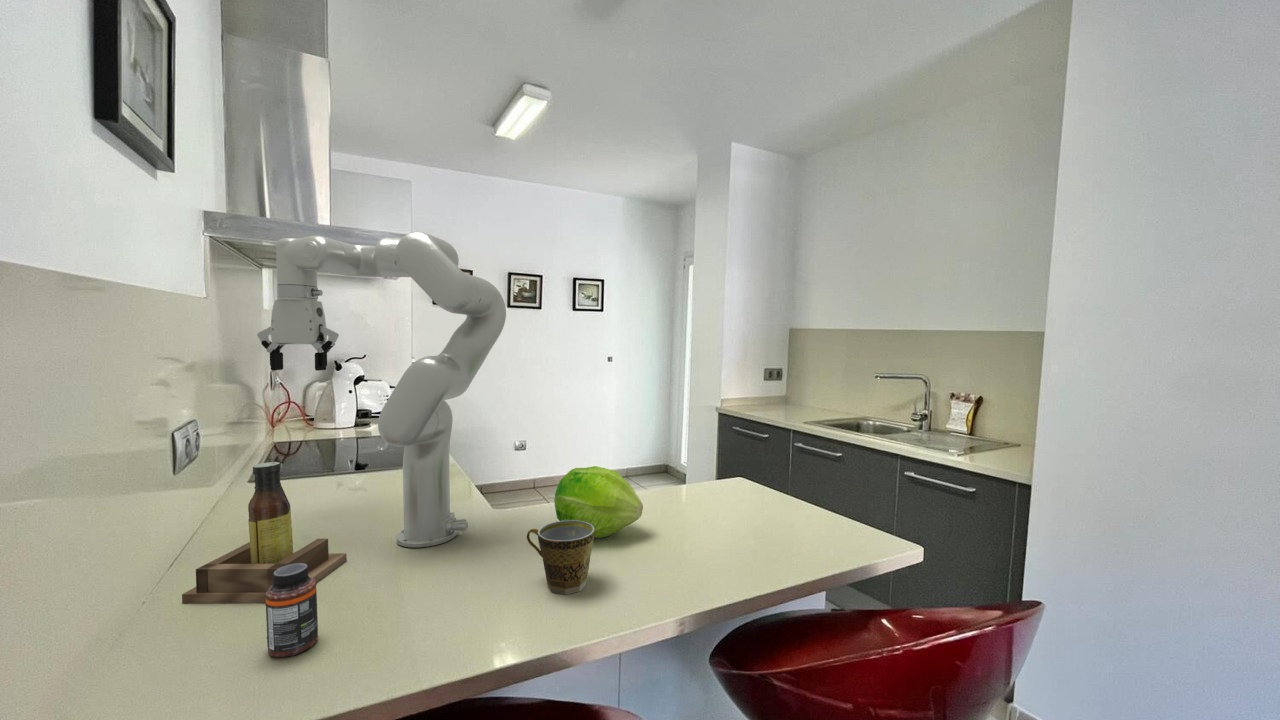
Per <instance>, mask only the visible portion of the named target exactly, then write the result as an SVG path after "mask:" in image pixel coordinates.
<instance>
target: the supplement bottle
mask: <svg viewBox="0 0 1280 720" xmlns="http://www.w3.org/2000/svg"><path fill="white" fill-rule="evenodd" d="M273 582H274V584H273V585H272V586H271V587H270V588H269V589H268V590H267V592H266V603H265V615H266V618H265V619H266V640H267V641H266V644H267V651H268V654H269V655H270V656H271V657H274V658H287V657H291V656H296V655H298V654H300V653H302V652H304V651H306V650H308V649H309V648H311V647H312V646H314V645H315V644H316V641H318V637H319V625H318V623H319V622H318V621H319V620H318V598H317V597H318V595H317V583H316V581H315V580H314V579H313V578H312V577H309V576H308V566H307V565H306V564H304V563H295V564H289V565H286V566H283V567H280V568H278V569H277V570H276V571H275V572H274V574H273Z"/></svg>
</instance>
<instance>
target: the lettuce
mask: <svg viewBox="0 0 1280 720" xmlns="http://www.w3.org/2000/svg"><path fill="white" fill-rule="evenodd" d="M553 499H554V500H553V501H554V502H553V503H554V509H555V513H556V519H557V520H558V521H565V520H576V521H583V522H587V523H589V524H591V525H592V526H593V527H594V538H595V537H596V539H601V538H606V537H609V536H611V535H614V534H615V533H618V532H619V531H621V530H622V529H624V528H626V527H628V526H630V525H631V524H633V523H636V522H637V521H638V520H639V519H640V518H641V516H642V514H643V510H644V504H643V502H642V500H641V499H640V497H639V496H638V494H637V493H636V490H635V489H634V488H633V486H632V485H631V484H630V483H629V482H628V481H627V480H626V479H625V478H624V477H623V476H622V475H621V474H620V473H618V471H616V470H613V469H611V468H605V467H601V466H597V465H594V466H588V467H575V468H572V469H570V470H569V471H568V472H567V473H566V474H565V475H564V476H562V478H561V479H560V480H559V482H558V484H557V486H556V490H555V492H554V498H553Z"/></svg>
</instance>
